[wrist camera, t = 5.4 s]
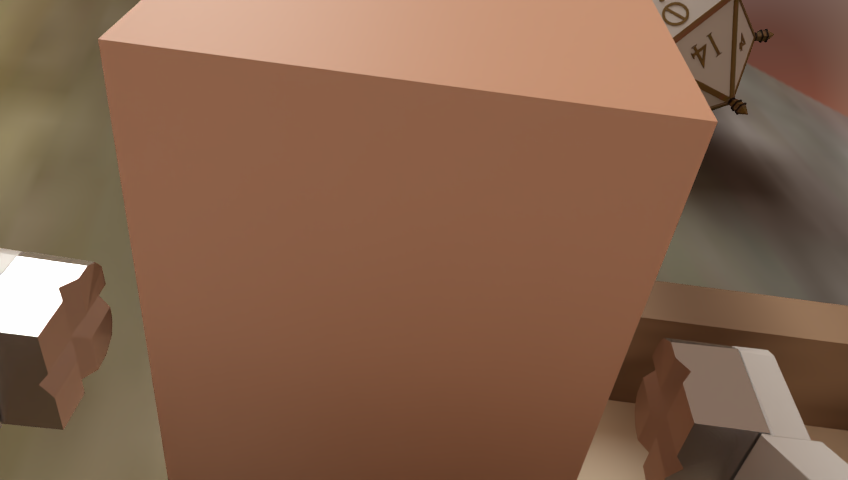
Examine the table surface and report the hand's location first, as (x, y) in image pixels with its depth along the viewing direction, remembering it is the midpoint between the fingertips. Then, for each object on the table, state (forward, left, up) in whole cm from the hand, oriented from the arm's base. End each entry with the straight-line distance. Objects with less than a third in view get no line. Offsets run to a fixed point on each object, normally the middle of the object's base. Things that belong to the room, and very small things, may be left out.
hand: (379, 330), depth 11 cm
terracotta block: (0, 0, -7) cm, 7 cm away
